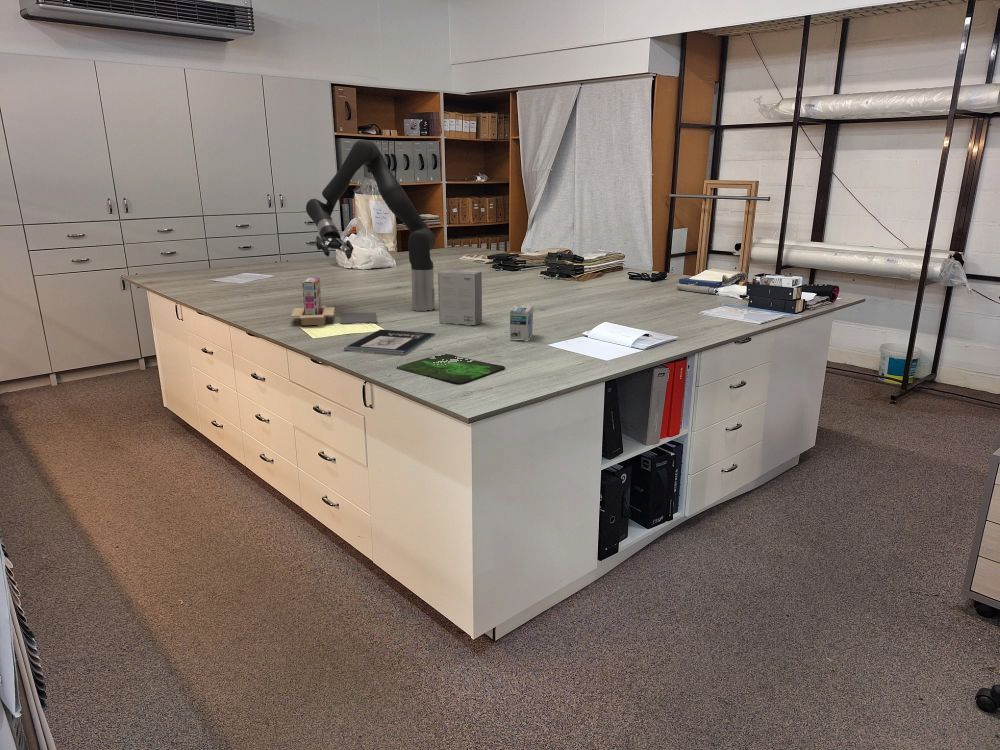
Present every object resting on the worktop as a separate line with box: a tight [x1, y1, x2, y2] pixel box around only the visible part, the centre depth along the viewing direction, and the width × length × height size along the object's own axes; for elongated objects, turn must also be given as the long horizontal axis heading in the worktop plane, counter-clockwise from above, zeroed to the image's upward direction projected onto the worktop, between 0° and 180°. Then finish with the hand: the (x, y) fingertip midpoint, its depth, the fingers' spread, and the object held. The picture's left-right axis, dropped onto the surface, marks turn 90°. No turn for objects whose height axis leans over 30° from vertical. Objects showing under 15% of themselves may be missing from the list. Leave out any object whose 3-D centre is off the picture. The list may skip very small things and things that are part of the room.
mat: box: [339, 312, 378, 325], centre depth 268 cm, size 14×18×1 cm
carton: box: [290, 305, 335, 326], centre depth 262 cm, size 16×22×4 cm
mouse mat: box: [395, 353, 506, 385], centre depth 204 cm, size 27×22×1 cm
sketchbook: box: [343, 329, 436, 357], centre depth 233 cm, size 22×30×2 cm
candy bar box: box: [302, 277, 322, 315], centre depth 261 cm, size 11×5×16 cm, turn 5°
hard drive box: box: [437, 269, 483, 326], centre depth 260 cm, size 16×8×20 cm, turn 71°
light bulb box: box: [509, 304, 534, 341], centre depth 240 cm, size 11×7×11 cm, turn 168°
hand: (338, 256), depth 264 cm, fingers open, 8 cm apart
